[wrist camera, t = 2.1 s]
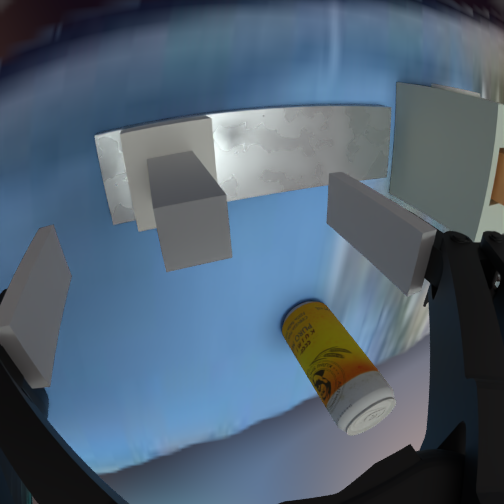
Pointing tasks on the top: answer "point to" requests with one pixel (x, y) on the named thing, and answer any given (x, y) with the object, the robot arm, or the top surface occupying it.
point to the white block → (448, 156)
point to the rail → (271, 150)
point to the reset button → (499, 180)
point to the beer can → (337, 368)
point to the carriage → (178, 190)
